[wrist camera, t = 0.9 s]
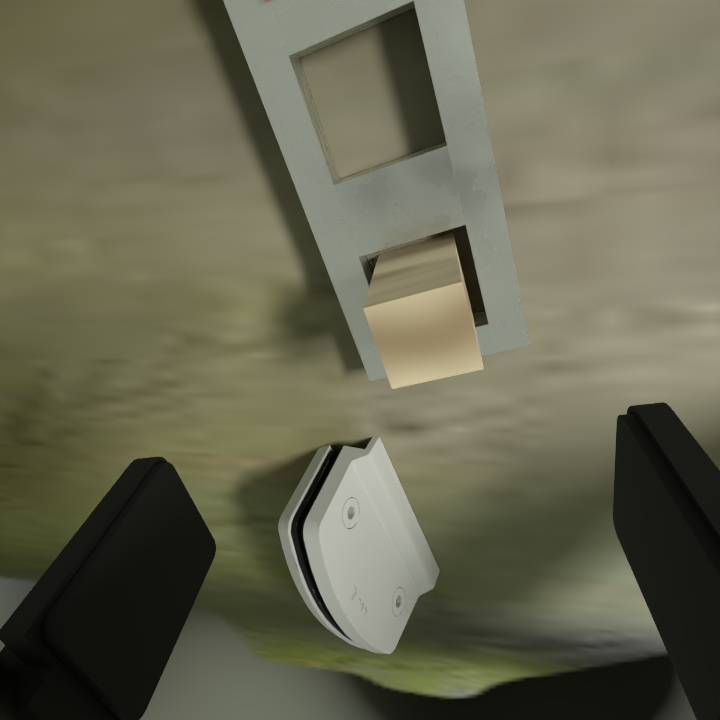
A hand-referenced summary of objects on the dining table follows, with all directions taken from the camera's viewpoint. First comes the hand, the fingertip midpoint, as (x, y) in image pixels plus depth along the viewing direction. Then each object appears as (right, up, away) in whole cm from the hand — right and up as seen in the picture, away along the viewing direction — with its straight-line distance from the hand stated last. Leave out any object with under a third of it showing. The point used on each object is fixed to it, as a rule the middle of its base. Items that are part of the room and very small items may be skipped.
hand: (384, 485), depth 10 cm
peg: (+3, +8, +18) cm, 20 cm away
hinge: (0, -10, +30) cm, 32 cm away
